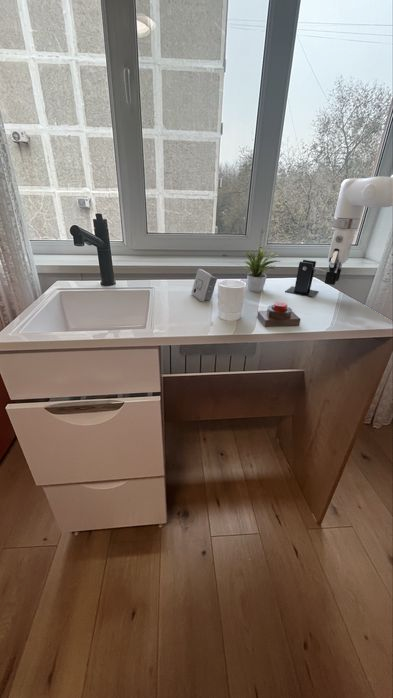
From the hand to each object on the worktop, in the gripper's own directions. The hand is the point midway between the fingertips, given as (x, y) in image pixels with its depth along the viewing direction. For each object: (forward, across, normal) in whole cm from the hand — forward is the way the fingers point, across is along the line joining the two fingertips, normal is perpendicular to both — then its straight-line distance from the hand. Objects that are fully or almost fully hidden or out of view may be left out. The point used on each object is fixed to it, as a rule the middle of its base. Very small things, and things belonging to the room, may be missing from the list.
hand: (331, 281), depth 98 cm
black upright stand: (+6, 0, +9) cm, 11 cm away
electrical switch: (+6, -25, +36) cm, 44 cm away
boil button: (+3, -30, +7) cm, 31 cm away
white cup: (+6, -35, +20) cm, 41 cm away
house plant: (+6, -9, +24) cm, 26 cm away
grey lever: (-2, 0, +5) cm, 6 cm away
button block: (+6, -30, +7) cm, 31 cm away
